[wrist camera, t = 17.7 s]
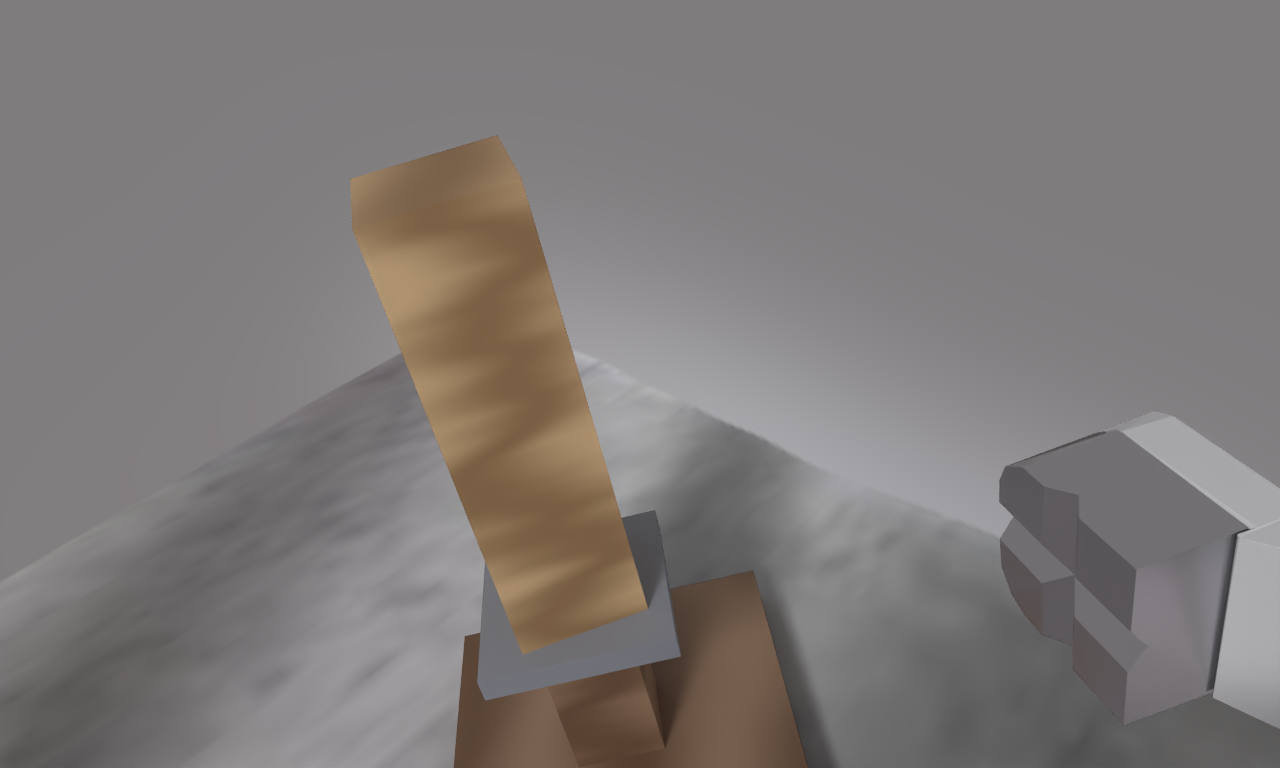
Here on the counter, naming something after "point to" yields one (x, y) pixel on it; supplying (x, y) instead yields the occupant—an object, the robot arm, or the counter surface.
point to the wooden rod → (499, 384)
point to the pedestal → (633, 682)
